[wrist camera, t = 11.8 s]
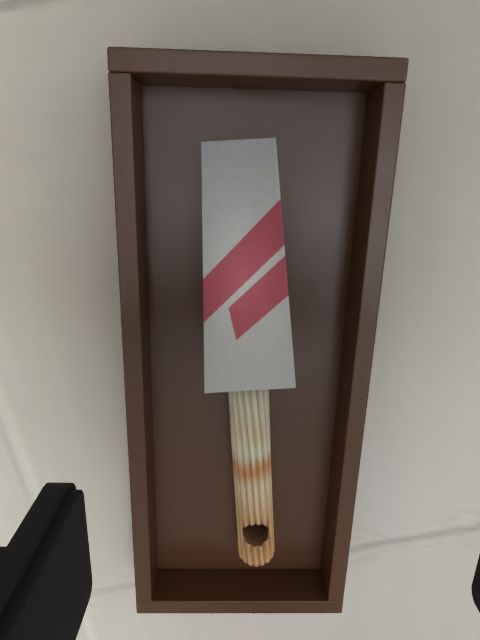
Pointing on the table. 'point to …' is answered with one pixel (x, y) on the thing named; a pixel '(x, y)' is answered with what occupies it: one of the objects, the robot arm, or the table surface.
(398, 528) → the table surface
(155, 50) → the tray
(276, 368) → the paintbrush
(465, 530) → the table surface
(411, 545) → the table surface
